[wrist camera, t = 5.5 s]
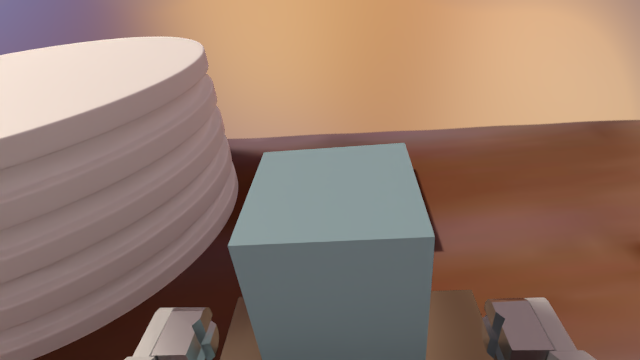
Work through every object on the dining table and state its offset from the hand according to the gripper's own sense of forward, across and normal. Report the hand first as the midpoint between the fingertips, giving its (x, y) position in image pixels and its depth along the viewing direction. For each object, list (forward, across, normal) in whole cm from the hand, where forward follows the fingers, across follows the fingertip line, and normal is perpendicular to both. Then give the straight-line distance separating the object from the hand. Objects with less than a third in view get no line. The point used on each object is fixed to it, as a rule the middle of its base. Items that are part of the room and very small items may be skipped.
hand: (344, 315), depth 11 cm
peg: (-1, 0, +7) cm, 7 cm away
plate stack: (+16, +23, +8) cm, 29 cm away
